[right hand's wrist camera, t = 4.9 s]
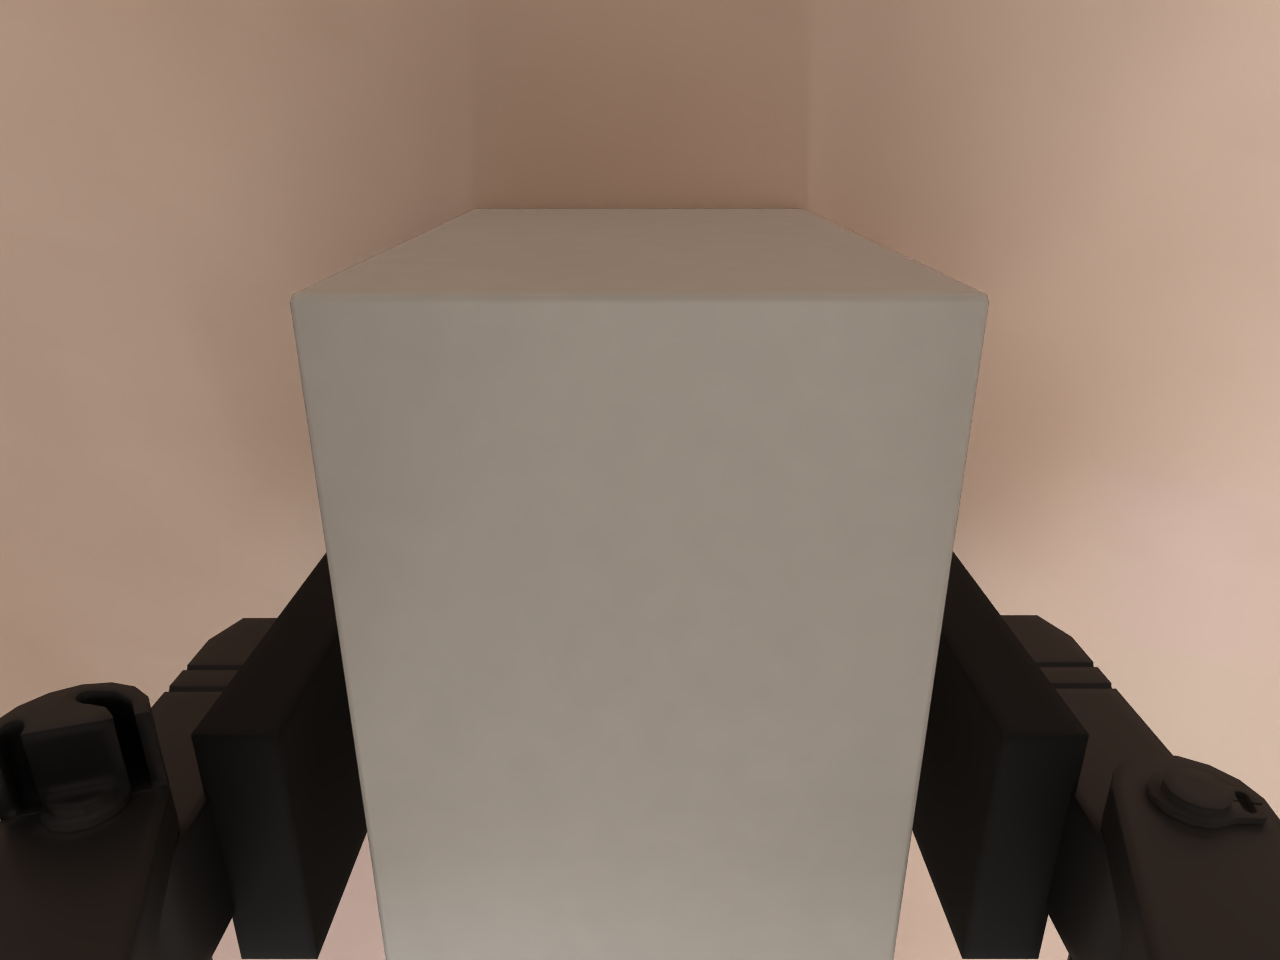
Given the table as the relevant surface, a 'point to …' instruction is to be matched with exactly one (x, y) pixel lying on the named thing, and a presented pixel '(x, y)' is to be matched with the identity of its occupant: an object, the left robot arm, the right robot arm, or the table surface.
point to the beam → (639, 574)
